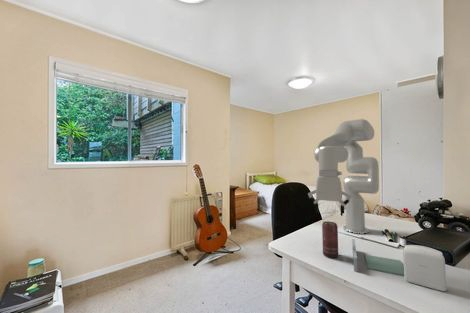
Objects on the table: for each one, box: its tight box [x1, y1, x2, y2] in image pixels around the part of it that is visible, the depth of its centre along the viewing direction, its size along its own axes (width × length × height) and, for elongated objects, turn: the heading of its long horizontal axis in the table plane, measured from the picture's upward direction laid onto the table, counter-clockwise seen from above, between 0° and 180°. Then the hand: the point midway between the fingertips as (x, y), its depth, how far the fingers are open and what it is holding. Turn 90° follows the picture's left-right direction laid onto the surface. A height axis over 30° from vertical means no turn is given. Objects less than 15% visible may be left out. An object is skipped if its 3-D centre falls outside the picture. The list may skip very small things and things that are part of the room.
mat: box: [364, 254, 404, 277], centre depth 81 cm, size 12×12×1 cm
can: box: [321, 221, 339, 259], centre depth 90 cm, size 6×6×14 cm
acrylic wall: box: [351, 238, 359, 273], centre depth 85 cm, size 20×1×5 cm, turn 152°
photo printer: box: [402, 244, 447, 292], centre depth 68 cm, size 10×4×12 cm, turn 49°
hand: (329, 213), depth 89 cm, fingers open, 9 cm apart
